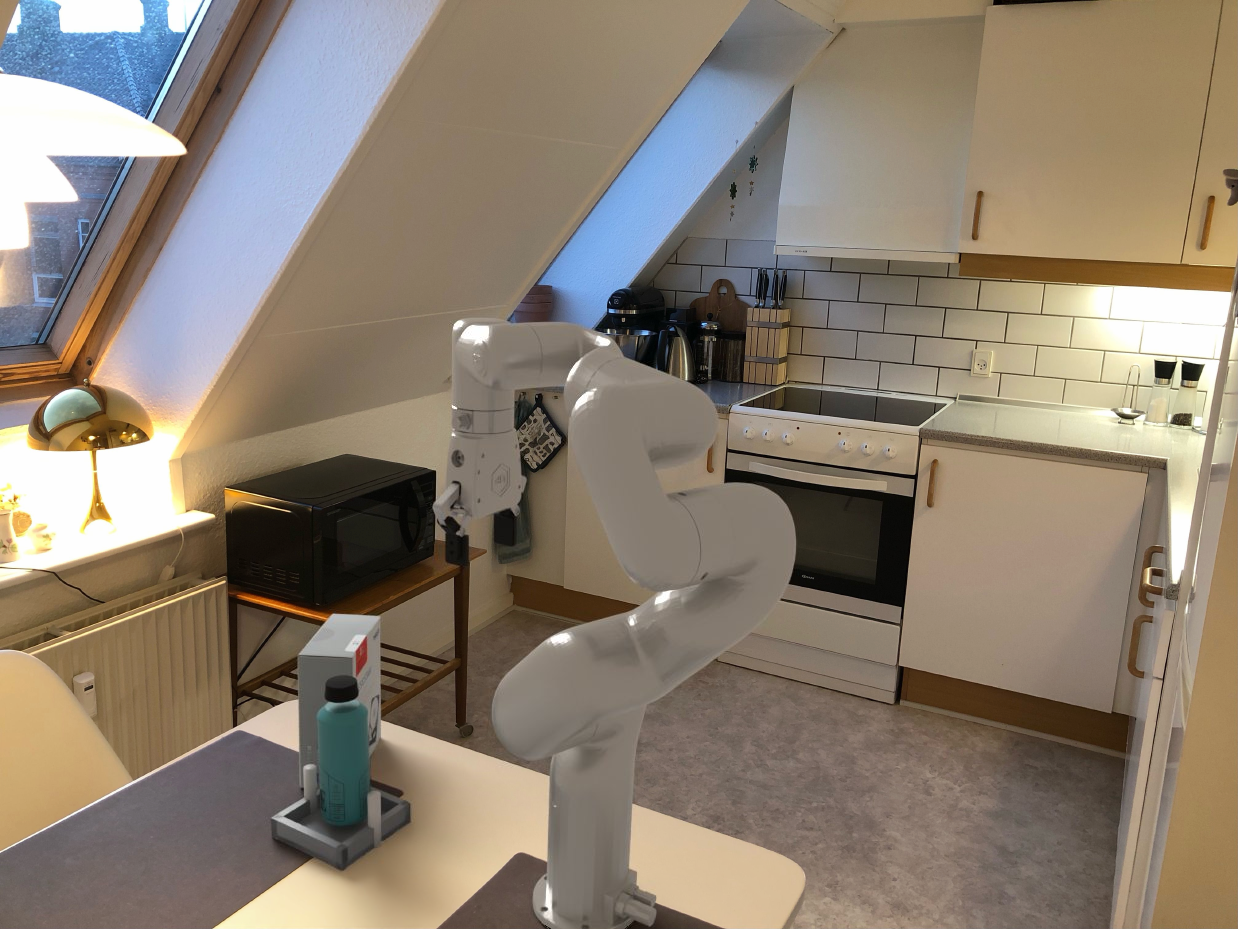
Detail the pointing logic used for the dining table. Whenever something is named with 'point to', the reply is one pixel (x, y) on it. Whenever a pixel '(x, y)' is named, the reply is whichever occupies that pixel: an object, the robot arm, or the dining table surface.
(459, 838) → the dining table surface
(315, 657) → the hard drive box
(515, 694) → the robot arm
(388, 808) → the tray
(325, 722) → the beverage bottle
